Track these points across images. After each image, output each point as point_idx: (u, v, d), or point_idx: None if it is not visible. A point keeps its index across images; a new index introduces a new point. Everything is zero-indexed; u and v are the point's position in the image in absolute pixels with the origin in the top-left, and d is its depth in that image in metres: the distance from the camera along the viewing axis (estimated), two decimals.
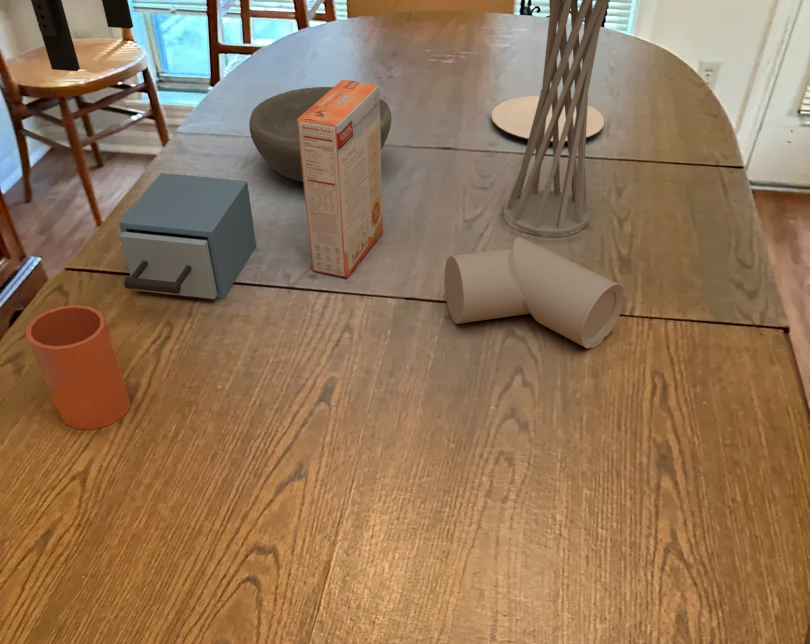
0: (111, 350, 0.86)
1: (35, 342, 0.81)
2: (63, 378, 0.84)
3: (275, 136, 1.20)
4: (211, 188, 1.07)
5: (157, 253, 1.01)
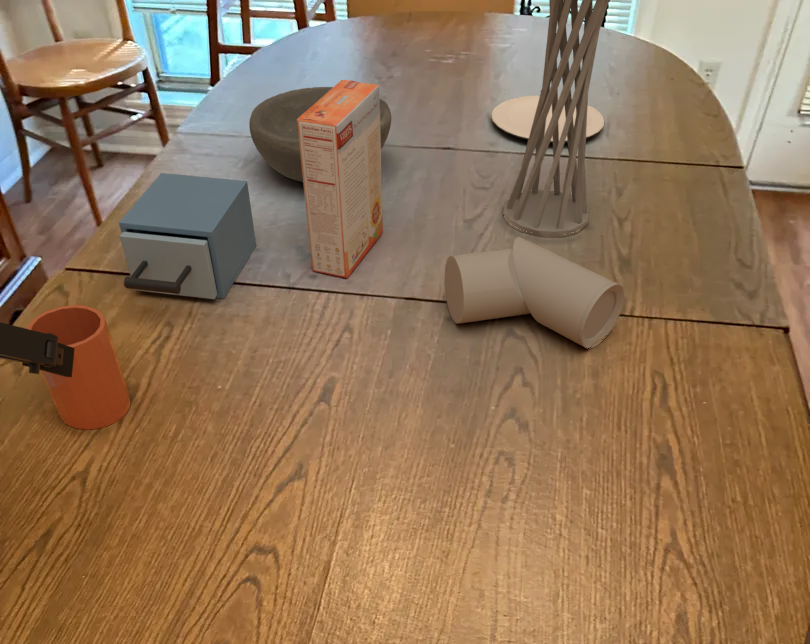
0: (111, 350, 0.86)
1: None
2: (63, 378, 0.84)
3: (275, 136, 1.20)
4: (211, 188, 1.07)
5: (157, 253, 1.01)
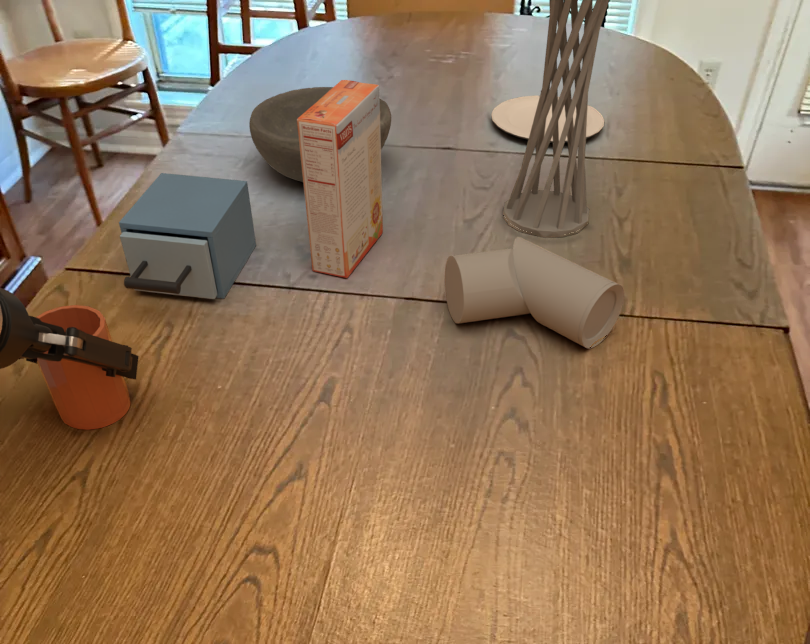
0: None
1: None
2: (63, 378, 0.84)
3: (275, 136, 1.20)
4: (211, 188, 1.07)
5: (157, 253, 1.01)
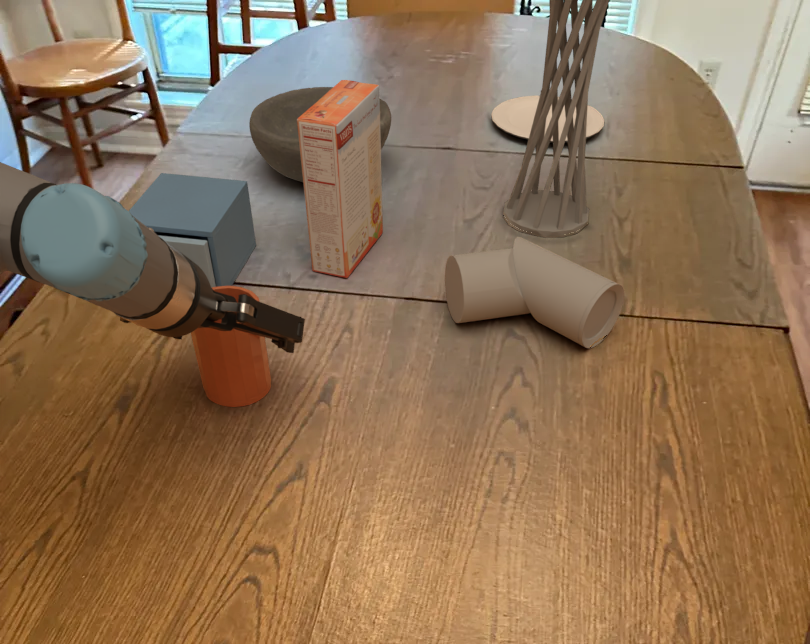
0: None
1: None
2: (220, 356, 0.87)
3: (275, 136, 1.20)
4: (211, 188, 1.07)
5: None
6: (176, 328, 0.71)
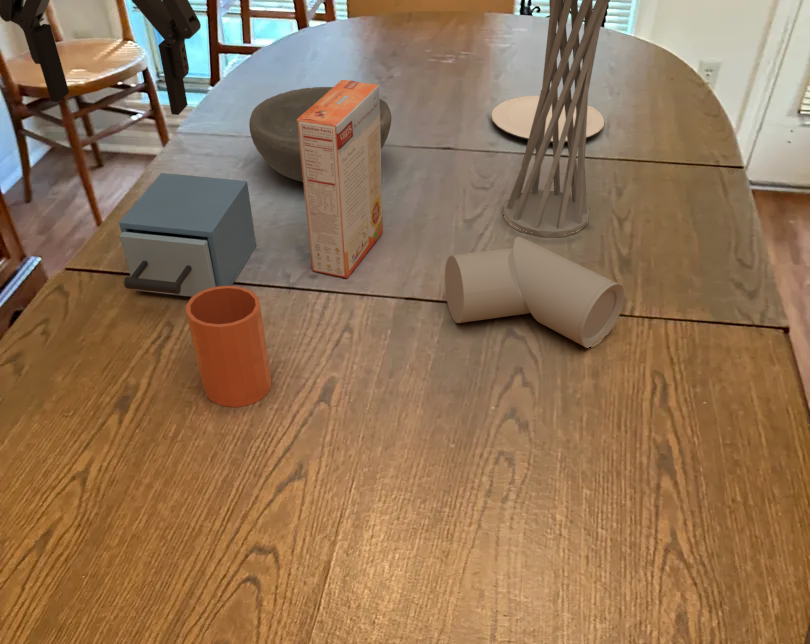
0: (263, 329, 0.89)
1: (197, 320, 0.84)
2: (220, 356, 0.87)
3: (275, 136, 1.20)
4: (211, 188, 1.07)
5: (157, 253, 1.01)
6: None
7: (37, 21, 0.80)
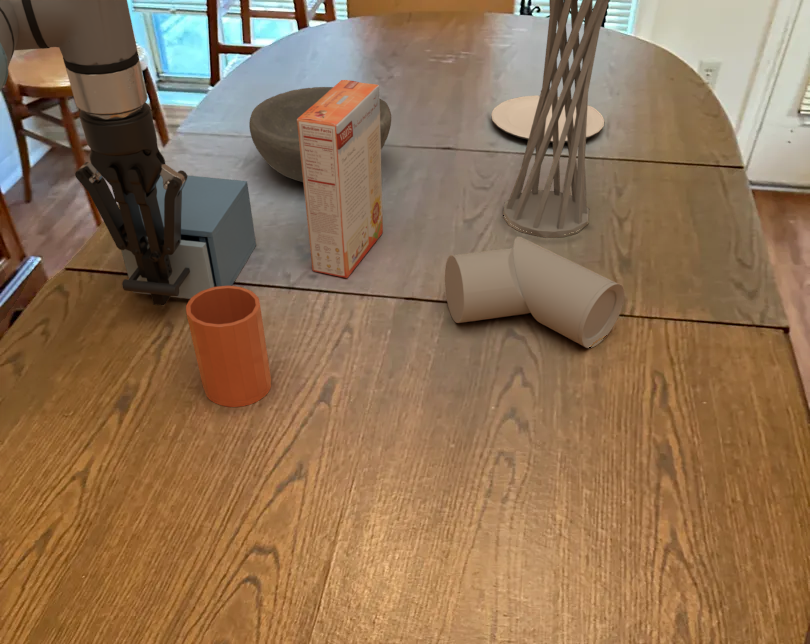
0: (263, 329, 0.89)
1: (197, 320, 0.84)
2: (220, 356, 0.87)
3: (275, 136, 1.20)
4: (211, 188, 1.07)
5: None
6: (118, 127, 0.83)
7: (144, 244, 0.97)
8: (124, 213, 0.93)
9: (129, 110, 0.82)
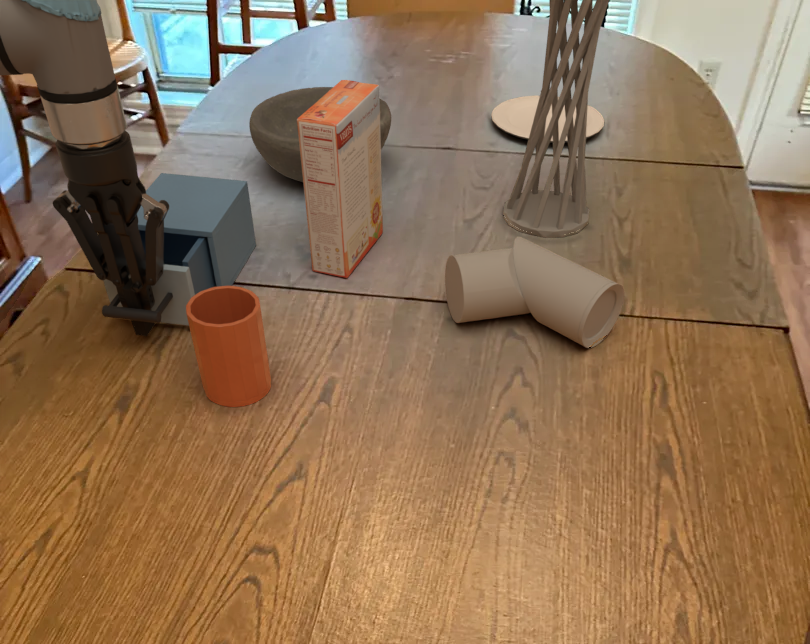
0: (263, 329, 0.89)
1: (197, 320, 0.84)
2: (220, 356, 0.87)
3: (275, 136, 1.20)
4: (211, 188, 1.07)
5: None
6: (95, 157, 0.80)
7: (126, 274, 0.94)
8: (104, 243, 0.89)
9: (107, 140, 0.79)
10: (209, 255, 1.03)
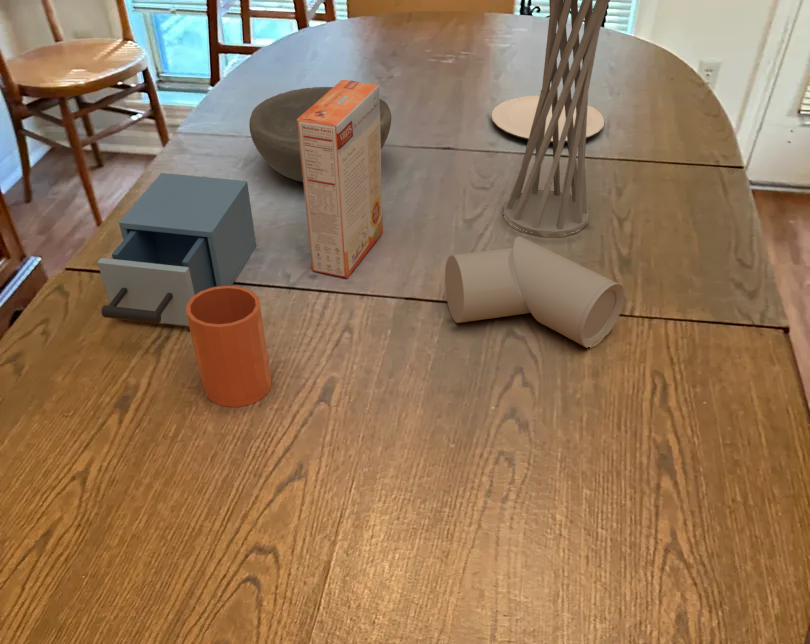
0: (263, 329, 0.89)
1: (197, 320, 0.84)
2: (220, 356, 0.87)
3: (275, 136, 1.20)
4: (211, 188, 1.07)
5: (137, 280, 0.97)
6: None
7: None
8: None
9: None
10: (209, 255, 1.03)
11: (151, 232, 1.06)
